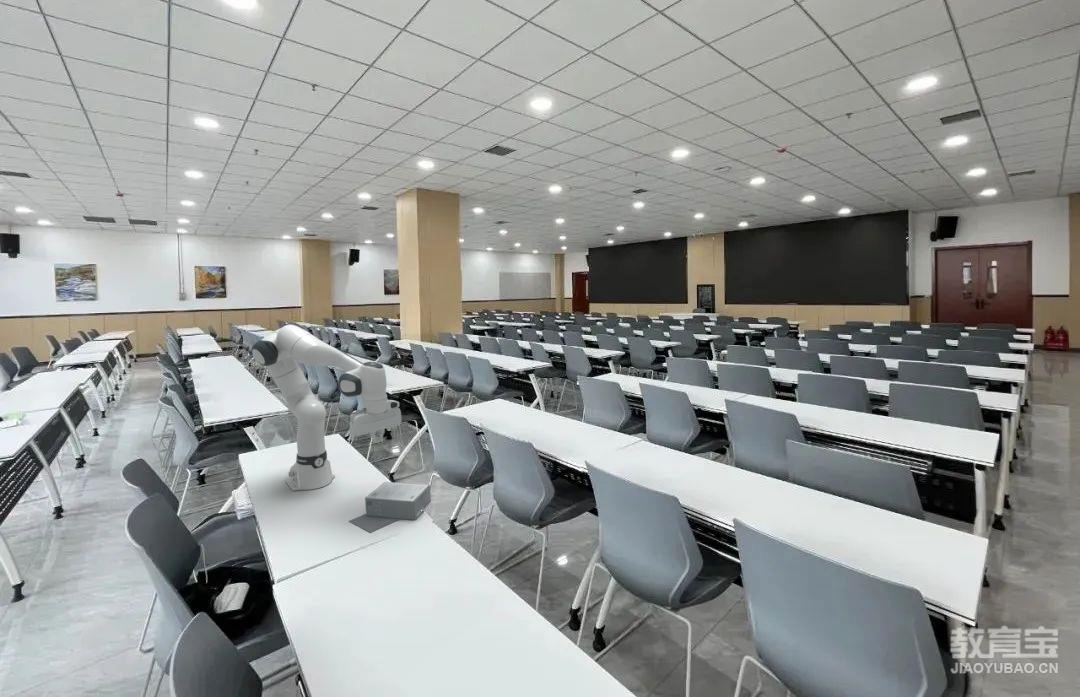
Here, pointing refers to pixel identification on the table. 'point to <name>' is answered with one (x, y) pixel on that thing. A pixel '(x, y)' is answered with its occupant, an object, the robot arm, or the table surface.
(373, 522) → the mat
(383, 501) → the hard drive box
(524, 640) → the table surface
